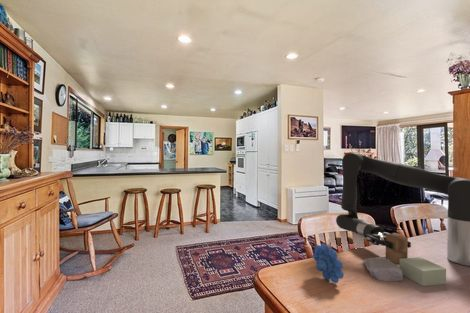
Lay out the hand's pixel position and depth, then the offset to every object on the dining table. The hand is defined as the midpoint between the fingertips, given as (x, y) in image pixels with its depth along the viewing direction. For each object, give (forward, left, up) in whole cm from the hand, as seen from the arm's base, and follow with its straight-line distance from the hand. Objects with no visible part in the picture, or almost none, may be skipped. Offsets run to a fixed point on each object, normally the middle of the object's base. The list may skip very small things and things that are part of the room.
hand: (401, 245), depth 90 cm
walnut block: (0, -2, -7) cm, 7 cm away
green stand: (0, +8, -8) cm, 12 cm away
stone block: (+11, +3, -9) cm, 14 cm away
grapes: (+34, +4, -8) cm, 35 cm away
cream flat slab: (0, -2, -8) cm, 8 cm away
